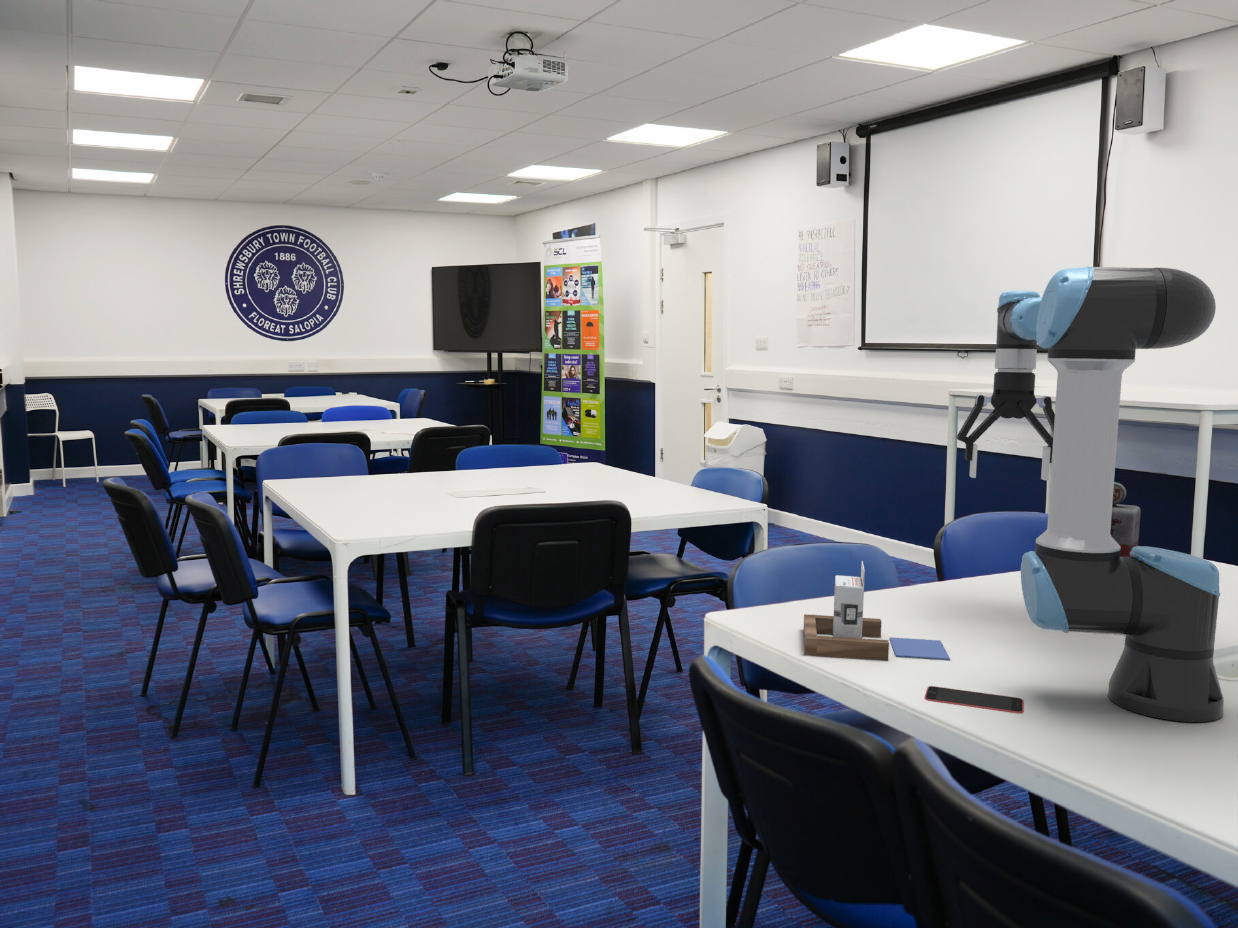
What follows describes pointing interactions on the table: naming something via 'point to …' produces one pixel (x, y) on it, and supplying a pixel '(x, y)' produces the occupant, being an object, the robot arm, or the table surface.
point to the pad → (919, 648)
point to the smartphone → (975, 699)
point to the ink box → (848, 605)
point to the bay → (843, 640)
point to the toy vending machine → (1124, 521)
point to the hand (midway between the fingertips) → (1008, 478)
